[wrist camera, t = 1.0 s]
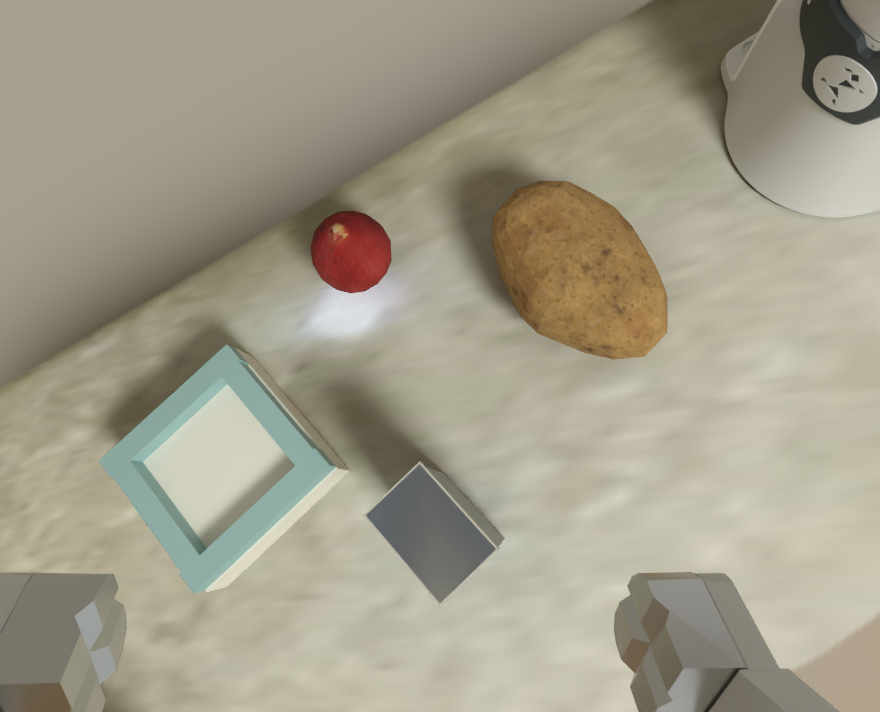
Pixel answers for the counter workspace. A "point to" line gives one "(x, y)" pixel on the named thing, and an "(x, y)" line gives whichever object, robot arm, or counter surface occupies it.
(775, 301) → the counter surface
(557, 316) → the potato
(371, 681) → the counter surface
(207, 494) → the display stand
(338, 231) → the onion
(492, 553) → the blue-grey box
